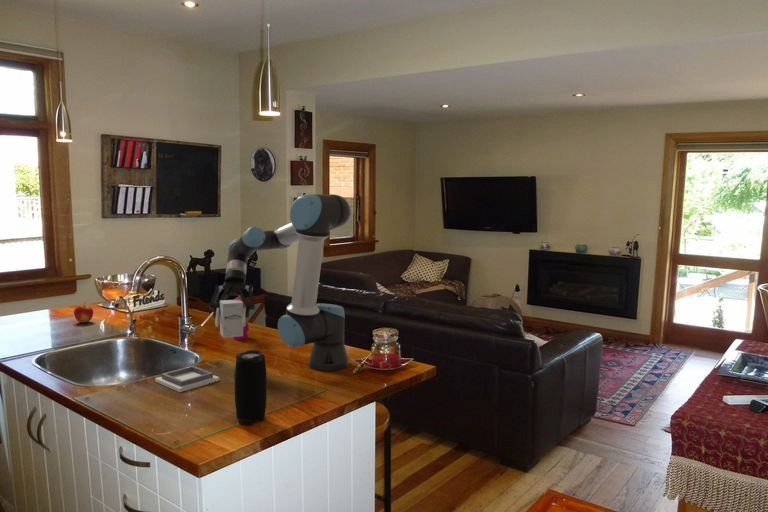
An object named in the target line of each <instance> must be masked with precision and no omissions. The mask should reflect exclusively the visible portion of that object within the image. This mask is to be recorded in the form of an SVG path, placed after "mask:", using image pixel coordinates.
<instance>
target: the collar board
mask: <svg viewBox="0 0 768 512" xmlns="http://www.w3.org/2000/svg"><path fill="white" fill-rule="evenodd" d="M154 380H155V383H157V384H160V385H162V386H165V387H166V388H168V389H169V388H170V389H172V390H173V391H175V392H178V393H182V392H185V391H188V390H192V389H195V388H199V387H202V386H206V385H210V384H212V382H213V383H216V382H219V381H220V376H217V375H214V373H213V372H212V371H208V370H206V369H203V368H200V367H197V366H196V365H191V366H187V367H182V368H180V369H179V368H178V369H176V370H172V371H167V372H163V373H161V376H158V377H155V379H154ZM218 380H219V381H218ZM215 381H216V382H215ZM209 383H210V384H209Z"/></svg>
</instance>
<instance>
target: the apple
mask: <svg viewBox="0 0 768 512" xmlns="http://www.w3.org/2000/svg"><path fill="white" fill-rule="evenodd" d="M73 313H74V314H73V315H74V318H75V319H76V321H77V322H79V323H80V324H82V323H88V322H90V321H91V320H92V319H93V316H94V310H93V308H92V307H91V306H90V305H86V302H84V304H81V305H78V306H76V307H75V308H74V310H73Z"/></svg>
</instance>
